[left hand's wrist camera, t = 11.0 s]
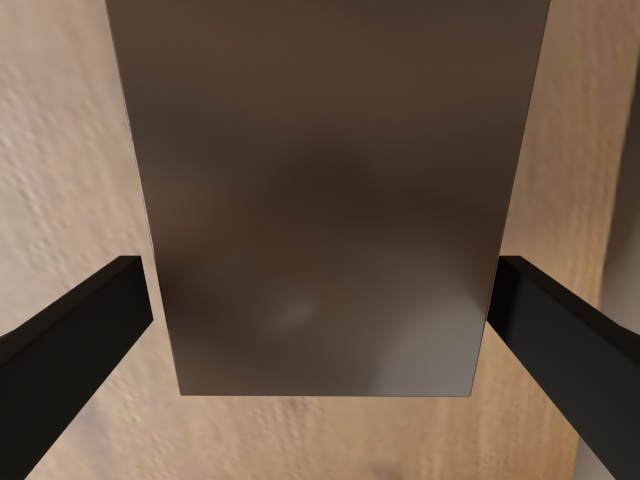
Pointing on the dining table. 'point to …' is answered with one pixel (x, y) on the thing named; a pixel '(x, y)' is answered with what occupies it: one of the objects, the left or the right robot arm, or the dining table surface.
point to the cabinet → (326, 184)
